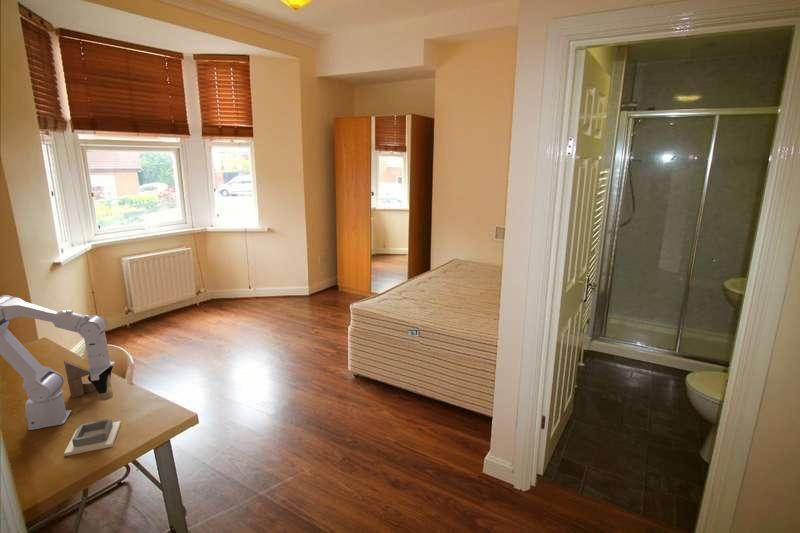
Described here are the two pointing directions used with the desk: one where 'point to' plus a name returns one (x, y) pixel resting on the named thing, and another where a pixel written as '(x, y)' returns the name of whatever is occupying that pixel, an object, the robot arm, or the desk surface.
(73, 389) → the wooden block
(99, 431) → the cup bracket
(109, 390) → the rail end peg
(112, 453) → the desk surface
